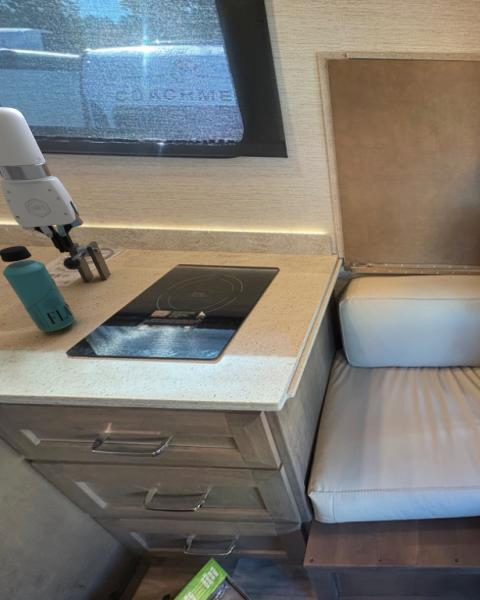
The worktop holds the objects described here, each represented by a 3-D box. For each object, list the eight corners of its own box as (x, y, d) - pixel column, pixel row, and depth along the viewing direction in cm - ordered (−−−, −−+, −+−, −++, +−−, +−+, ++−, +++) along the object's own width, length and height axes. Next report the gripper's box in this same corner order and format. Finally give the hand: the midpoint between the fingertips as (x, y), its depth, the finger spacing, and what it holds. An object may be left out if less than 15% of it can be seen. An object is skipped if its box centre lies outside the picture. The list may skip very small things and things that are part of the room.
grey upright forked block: (118, 286, 94) (101, 247, 88) (73, 291, 90) (52, 252, 84) (124, 275, 100) (108, 238, 94) (82, 280, 96) (62, 242, 90)
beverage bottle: (57, 339, 73) (6, 256, 63) (32, 335, 74) (-22, 252, 64) (86, 323, 79) (43, 244, 69) (62, 319, 80) (16, 241, 69)
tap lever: (81, 270, 83) (75, 259, 81) (64, 272, 82) (58, 260, 80) (96, 254, 92) (91, 243, 91) (81, 255, 91) (76, 244, 90)
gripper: (-32, 177, 66) (19, 260, 76) (64, 174, 72) (100, 252, 81) (-11, 170, 72) (34, 248, 82) (76, 168, 78) (108, 241, 87)
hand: (67, 250), depth 81 cm, fingers closed
